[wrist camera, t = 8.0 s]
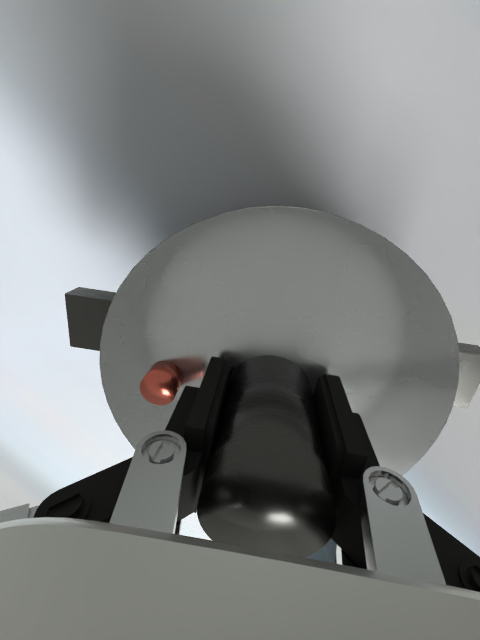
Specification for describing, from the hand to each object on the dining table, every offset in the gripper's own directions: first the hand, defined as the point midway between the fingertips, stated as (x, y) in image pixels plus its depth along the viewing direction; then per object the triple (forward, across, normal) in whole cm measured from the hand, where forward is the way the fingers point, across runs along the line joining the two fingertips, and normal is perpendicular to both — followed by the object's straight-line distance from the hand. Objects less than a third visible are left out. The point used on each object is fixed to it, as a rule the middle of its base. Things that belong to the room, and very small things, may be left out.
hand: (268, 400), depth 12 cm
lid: (+2, 0, 0) cm, 2 cm away
